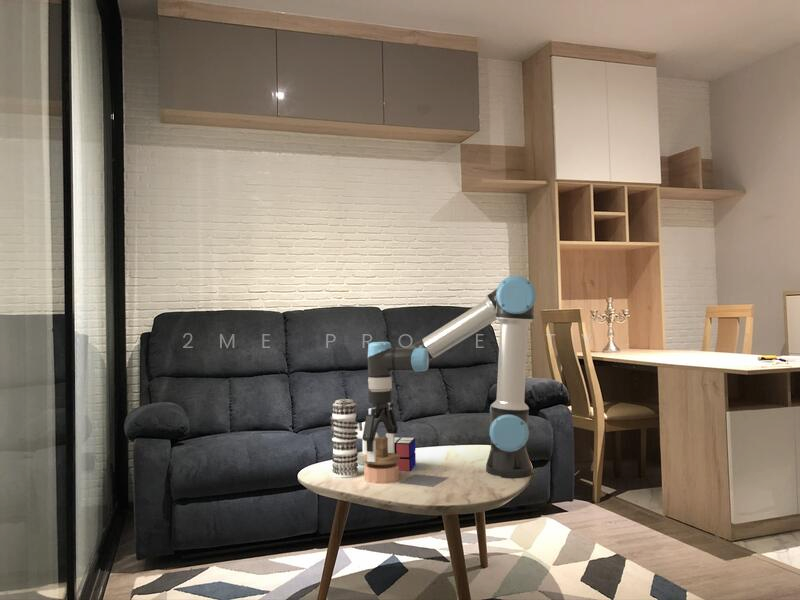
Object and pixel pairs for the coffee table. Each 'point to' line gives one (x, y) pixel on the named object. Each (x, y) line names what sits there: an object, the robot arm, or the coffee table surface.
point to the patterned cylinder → (344, 438)
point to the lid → (382, 453)
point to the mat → (423, 480)
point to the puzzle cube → (405, 453)
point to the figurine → (364, 452)
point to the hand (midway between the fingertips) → (381, 457)
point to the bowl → (381, 473)
